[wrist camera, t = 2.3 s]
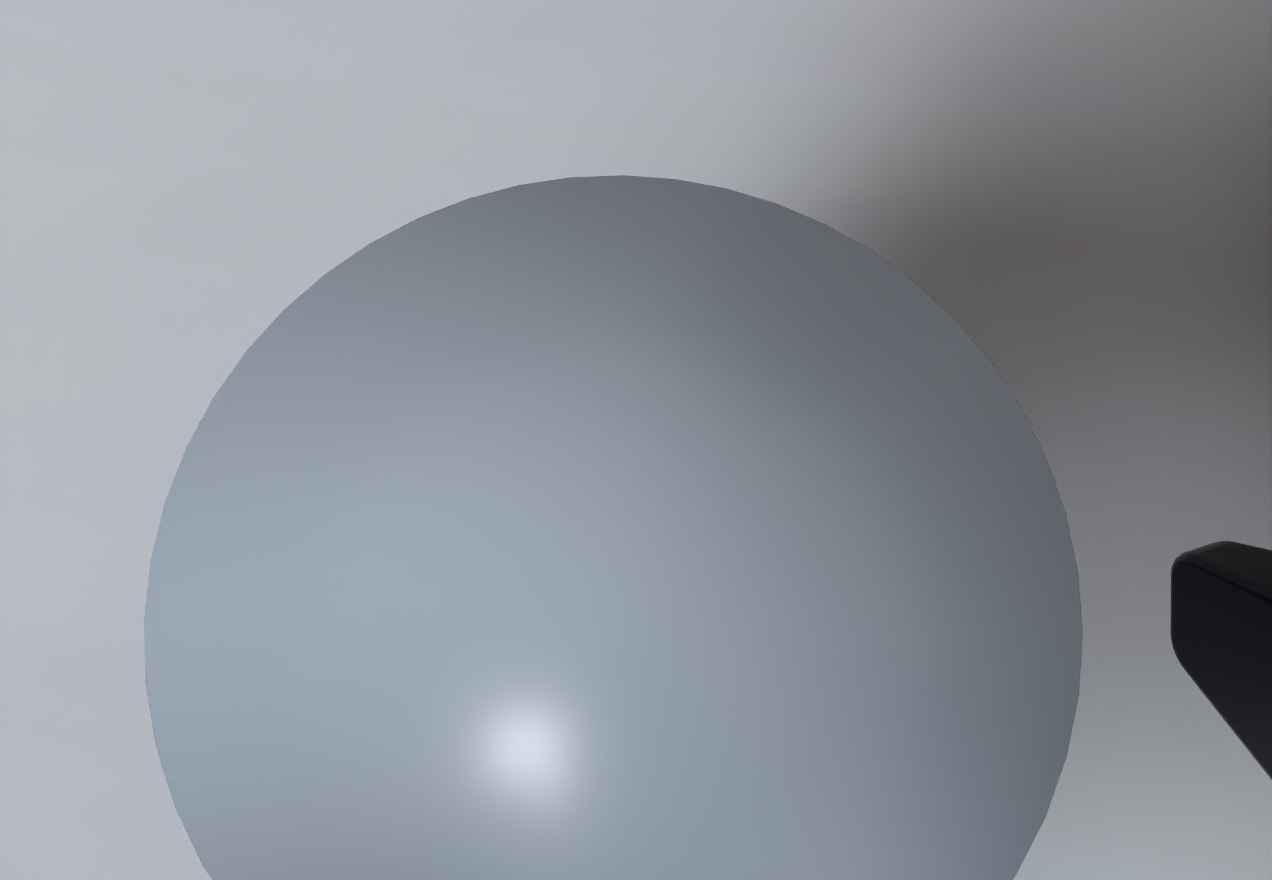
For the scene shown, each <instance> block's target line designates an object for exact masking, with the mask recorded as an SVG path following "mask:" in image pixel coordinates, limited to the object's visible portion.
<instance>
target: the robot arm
mask: <svg viewBox="0 0 1272 880" xmlns="http://www.w3.org/2000/svg"><path fill="white" fill-rule="evenodd" d="M1171 640H1172V645H1173V649H1174V651H1175V654H1176V656H1177V658H1178V660H1179V662H1180V663H1181V665H1182V666H1183V668H1184V669H1185V671H1186V672H1187V673H1188V674H1189V676H1190V677H1191V678H1192V680H1193V681H1194V682H1195V683H1196V685H1197V686H1198V687H1199V688H1200V690H1201V691H1202V692H1203V693H1204V695H1205V696H1206V697H1207V698H1208V700H1209V701H1210V702H1211V704H1212V705H1213V706H1214V707H1215V709H1216V710H1217V711H1218V712H1219V714H1220V715H1221V716H1222V717H1223V719H1224V720H1225V721H1226V723H1227V724H1228V725H1229V726H1230V728H1231V729H1232V730H1233V731H1234V733H1235V734H1236V735H1237V736H1238V738H1239V739H1240V740H1241V742H1242V743H1243V744H1244V745H1245V747H1246V748H1247V749H1248V750H1249V752H1250V753H1251V754H1252V755H1253V757H1254V758H1255V759H1256V760H1257V762H1258V763H1259V764H1260V766H1261V767H1262V768H1263V769H1264V771H1265V772H1266V773H1267V774H1268V776H1269V777H1270V778H1271V779H1272V550H1267V549H1263V548H1258V547H1254V546H1250V545H1245V544H1241V543H1236V542H1231V541H1219V542H1215V543H1212V544H1209V545H1206V546H1203V547H1200V548H1197V549H1194V550H1190V551H1187V552H1184V553H1183V554H1181V555H1180V556H1178V557H1177V558H1176V559H1175V561H1174V563H1173V566H1172V570H1171Z"/></svg>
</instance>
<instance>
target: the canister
mask: <svg viewBox="0 0 1272 880" xmlns="http://www.w3.org/2000/svg"><path fill="white" fill-rule="evenodd" d="M144 634H145V675H146V688H147V694H148V700H149V706H150V712H151V719H152V725H153V731H154V737H155V743H156V747H157V751H158V754H159V757H160V760H161V763H162V767H163V770H164V773H165V776H166V780H167V783H168V786H169V789H170V792H171V796H172V799H173V802H174V805H175V808H176V810H177V812H178V814H179V816H180V818H181V821H182V823H183V825H184V827H185V829H186V831H187V833H188V835H189V837H190V839H191V842H192V844H193V846H194V848H195V850H196V852H197V854H198V856H199V858H200V861H201V863H202V865H203V867H204V868H205V870H206V871H207V873H208V874H209V876H210V877H211V879H212V880H1013V878H1014V877H1015V875H1016V873H1017V871H1018V870H1019V868H1020V866H1021V864H1022V862H1023V860H1024V858H1025V856H1026V854H1027V852H1028V850H1029V848H1030V846H1031V844H1032V842H1033V840H1034V838H1035V836H1036V835H1037V833H1038V831H1039V829H1040V827H1041V825H1042V823H1043V821H1044V819H1045V817H1046V814H1047V811H1048V808H1049V805H1050V803H1051V800H1052V797H1053V794H1054V791H1055V788H1056V785H1057V782H1058V780H1059V777H1060V774H1061V771H1062V768H1063V765H1064V762H1065V759H1066V756H1067V752H1068V747H1069V741H1070V736H1071V731H1072V726H1073V721H1074V716H1075V711H1076V706H1077V701H1078V696H1079V683H1080V666H1081V650H1082V620H1081V606H1080V593H1079V579H1078V570H1077V566H1076V561H1075V556H1074V551H1073V546H1072V541H1071V537H1070V532H1069V527H1068V522H1067V517H1066V514H1065V511H1064V508H1063V505H1062V502H1061V499H1060V496H1059V493H1058V490H1057V487H1056V485H1055V482H1054V479H1053V476H1052V473H1051V470H1050V467H1049V464H1048V461H1047V459H1046V457H1045V455H1044V453H1043V451H1042V449H1041V447H1040V445H1039V443H1038V441H1037V439H1036V437H1035V435H1034V433H1033V431H1032V429H1031V427H1030V425H1029V423H1028V421H1027V418H1026V416H1025V414H1024V412H1023V410H1022V409H1021V407H1020V406H1019V404H1018V403H1017V401H1016V399H1015V398H1014V396H1013V395H1012V393H1011V392H1010V390H1009V389H1008V387H1007V386H1006V384H1005V383H1004V381H1003V380H1002V378H1001V377H1000V375H999V374H998V372H997V371H996V369H995V367H994V366H993V364H992V363H991V362H990V360H989V359H988V358H987V357H986V356H985V355H984V353H983V352H982V351H981V350H980V349H979V347H978V346H977V345H976V344H975V343H974V342H973V340H972V339H971V338H970V337H969V336H968V334H967V333H966V332H965V331H964V330H963V329H962V327H961V326H960V325H959V324H958V323H957V321H956V320H955V319H954V318H953V317H951V316H950V315H949V314H948V313H947V312H946V311H945V310H944V309H943V308H942V307H941V306H940V305H939V304H938V303H936V302H935V301H934V300H933V299H932V298H931V297H930V296H929V295H928V294H927V293H926V292H925V291H924V290H922V289H921V288H920V287H919V286H918V285H917V284H916V283H915V282H913V281H912V280H911V279H909V278H908V277H907V276H905V275H904V274H903V273H901V272H900V271H898V270H897V269H896V268H894V267H893V266H892V265H890V264H889V263H888V262H886V261H885V260H883V259H882V258H881V257H879V256H878V255H877V254H875V253H874V252H873V251H871V250H869V249H867V248H866V247H864V246H862V245H860V244H859V243H857V242H855V241H853V240H852V239H850V238H848V237H846V236H845V235H843V234H841V233H839V232H838V231H836V230H834V229H832V228H831V227H829V226H827V225H825V224H823V223H820V222H818V221H816V220H813V219H811V218H809V217H806V216H804V215H802V214H800V213H797V212H795V211H793V210H790V209H788V208H786V207H783V206H781V205H779V204H776V203H772V202H769V201H766V200H762V199H759V198H756V197H753V196H749V195H746V194H743V193H739V192H736V191H733V190H729V189H726V188H720V187H715V186H709V185H704V184H698V183H693V182H687V181H682V180H677V179H665V178H651V177H637V176H598V177H572V178H564V179H558V180H551V181H544V182H538V183H531V184H525V185H518V186H514V187H511V188H507V189H503V190H499V191H496V192H492V193H488V194H484V195H481V196H477V197H473V198H469V199H466V200H464V201H461V202H458V203H456V204H453V205H451V206H448V207H446V208H443V209H441V210H438V211H435V212H433V213H430V214H428V215H425V216H423V217H420V218H418V219H416V220H414V221H412V222H410V223H408V224H406V225H404V226H402V227H400V228H399V229H397V230H395V231H393V232H391V233H389V234H387V235H385V236H383V237H381V238H380V239H378V240H376V241H374V242H372V243H370V244H369V245H367V246H366V247H364V248H363V249H361V250H360V251H358V252H357V253H355V254H354V255H353V256H351V257H350V258H348V259H347V260H345V261H344V262H342V263H341V264H339V265H338V266H336V267H335V268H334V269H332V270H331V271H329V272H328V273H326V274H325V275H324V276H322V277H321V278H320V279H319V280H318V281H317V282H316V283H314V284H313V285H312V286H311V287H310V288H309V289H308V290H306V291H305V292H304V293H303V294H302V295H301V296H300V297H298V298H297V299H296V300H295V301H294V302H293V303H291V304H290V305H289V306H288V307H287V308H286V309H285V310H283V312H282V313H281V314H280V315H279V316H278V317H277V318H276V319H275V320H274V321H273V323H272V324H271V325H270V326H269V327H268V328H267V329H266V330H265V331H264V332H263V334H262V335H261V336H260V337H259V338H258V339H257V340H256V341H255V342H254V343H253V345H252V346H251V347H250V348H249V349H248V350H247V351H246V352H245V354H244V355H243V357H242V358H241V360H240V361H239V362H238V364H237V365H236V367H235V368H234V369H233V371H232V372H231V374H230V375H229V376H228V378H227V379H226V381H225V382H224V383H223V385H222V386H221V388H220V389H219V391H218V392H217V393H216V395H215V396H214V398H213V399H212V401H211V403H210V405H209V407H208V409H207V411H206V412H205V414H204V416H203V418H202V420H201V422H200V423H199V425H198V427H197V429H196V431H195V433H194V435H193V436H192V438H191V440H190V442H189V444H188V446H187V448H186V450H185V453H184V455H183V458H182V460H181V463H180V465H179V468H178V471H177V473H176V476H175V478H174V481H173V484H172V486H171V489H170V491H169V494H168V496H167V499H166V502H165V505H164V509H163V513H162V517H161V521H160V525H159V529H158V534H157V538H156V542H155V546H154V550H153V554H152V558H151V564H150V573H149V582H148V591H147V600H146V609H145V618H144Z"/></svg>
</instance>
